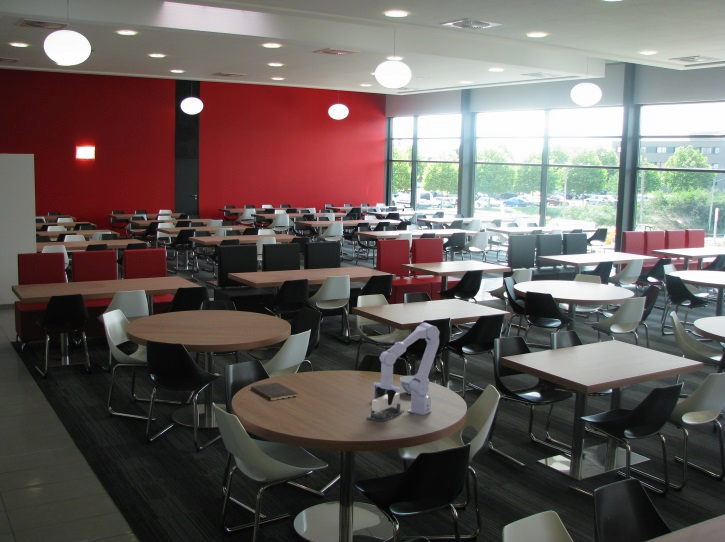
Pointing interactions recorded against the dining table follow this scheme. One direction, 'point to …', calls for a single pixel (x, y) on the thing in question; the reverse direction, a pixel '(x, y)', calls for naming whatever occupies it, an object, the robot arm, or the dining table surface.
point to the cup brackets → (385, 413)
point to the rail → (384, 402)
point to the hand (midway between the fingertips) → (385, 403)
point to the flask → (377, 393)
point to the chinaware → (406, 383)
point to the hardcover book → (273, 391)
